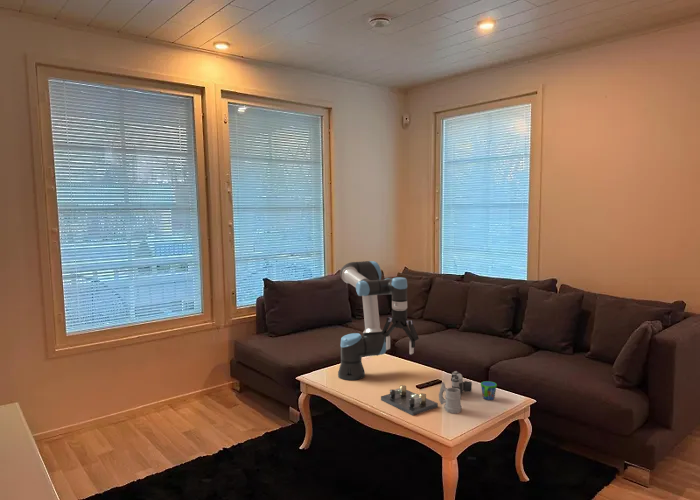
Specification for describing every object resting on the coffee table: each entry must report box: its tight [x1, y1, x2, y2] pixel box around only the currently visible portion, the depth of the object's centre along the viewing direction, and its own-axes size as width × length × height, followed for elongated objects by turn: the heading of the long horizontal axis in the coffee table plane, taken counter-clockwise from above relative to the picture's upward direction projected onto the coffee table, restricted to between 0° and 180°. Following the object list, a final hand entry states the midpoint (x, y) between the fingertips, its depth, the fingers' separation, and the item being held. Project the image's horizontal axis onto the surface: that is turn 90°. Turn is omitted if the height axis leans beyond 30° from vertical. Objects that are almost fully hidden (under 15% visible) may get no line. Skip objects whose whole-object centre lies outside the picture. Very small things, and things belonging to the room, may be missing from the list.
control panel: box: [380, 389, 439, 416], centre depth 242 cm, size 23×16×4 cm
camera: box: [450, 370, 473, 395], centre depth 254 cm, size 16×10×10 cm, turn 168°
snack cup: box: [480, 380, 498, 401], centre depth 247 cm, size 11×8×7 cm
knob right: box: [409, 393, 427, 407], centre depth 235 cm, size 3×10×4 cm, turn 125°
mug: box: [438, 381, 463, 414], centre depth 234 cm, size 8×12×12 cm, turn 43°
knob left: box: [389, 384, 407, 398], centre depth 246 cm, size 3×10×4 cm, turn 125°
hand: (399, 351), depth 248 cm, fingers open, 13 cm apart
